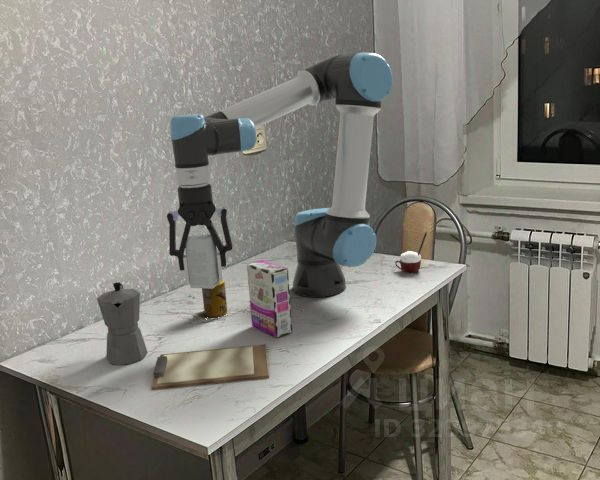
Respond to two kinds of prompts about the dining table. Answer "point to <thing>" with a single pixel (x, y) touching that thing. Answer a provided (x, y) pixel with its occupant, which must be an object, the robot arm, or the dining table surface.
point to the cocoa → (411, 260)
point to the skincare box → (202, 261)
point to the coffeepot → (122, 325)
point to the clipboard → (210, 366)
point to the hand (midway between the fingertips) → (204, 281)
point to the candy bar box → (270, 298)
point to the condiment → (213, 303)
